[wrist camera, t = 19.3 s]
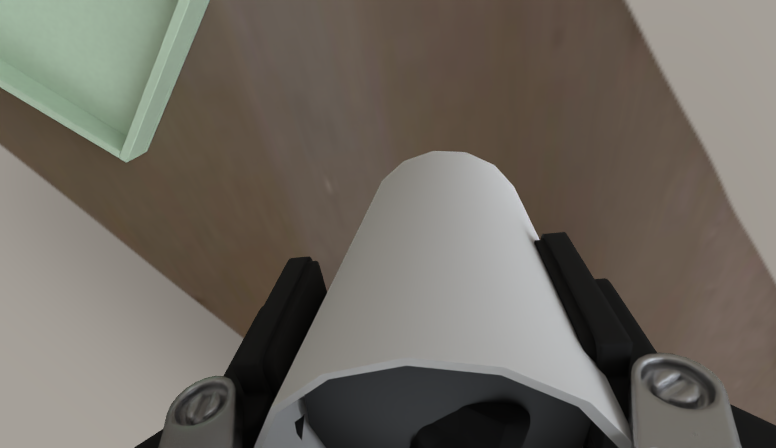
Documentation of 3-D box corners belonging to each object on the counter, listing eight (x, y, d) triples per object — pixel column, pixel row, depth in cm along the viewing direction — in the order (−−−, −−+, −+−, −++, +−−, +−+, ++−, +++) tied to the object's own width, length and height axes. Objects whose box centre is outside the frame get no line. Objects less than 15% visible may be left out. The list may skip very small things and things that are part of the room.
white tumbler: (563, 162, 14) (753, 427, 5) (500, 307, 17) (552, 616, 9) (375, 118, 14) (259, 308, 5) (347, 270, 17) (247, 539, 9)
